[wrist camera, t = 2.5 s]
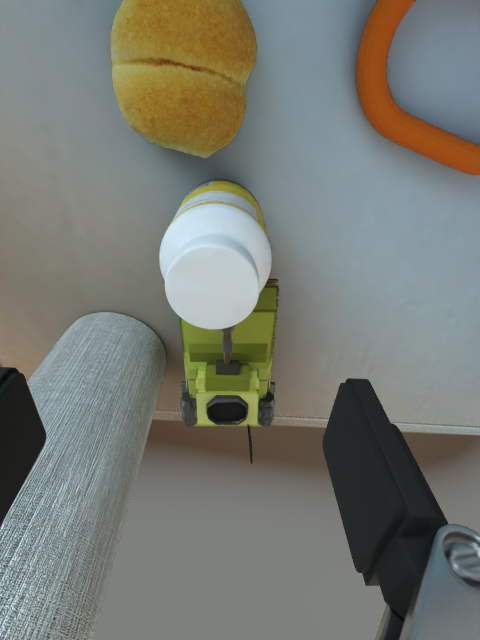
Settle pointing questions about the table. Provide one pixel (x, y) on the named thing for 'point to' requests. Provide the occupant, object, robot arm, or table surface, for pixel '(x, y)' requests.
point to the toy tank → (231, 369)
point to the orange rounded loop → (384, 108)
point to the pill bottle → (215, 255)
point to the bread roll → (183, 70)
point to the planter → (78, 477)
